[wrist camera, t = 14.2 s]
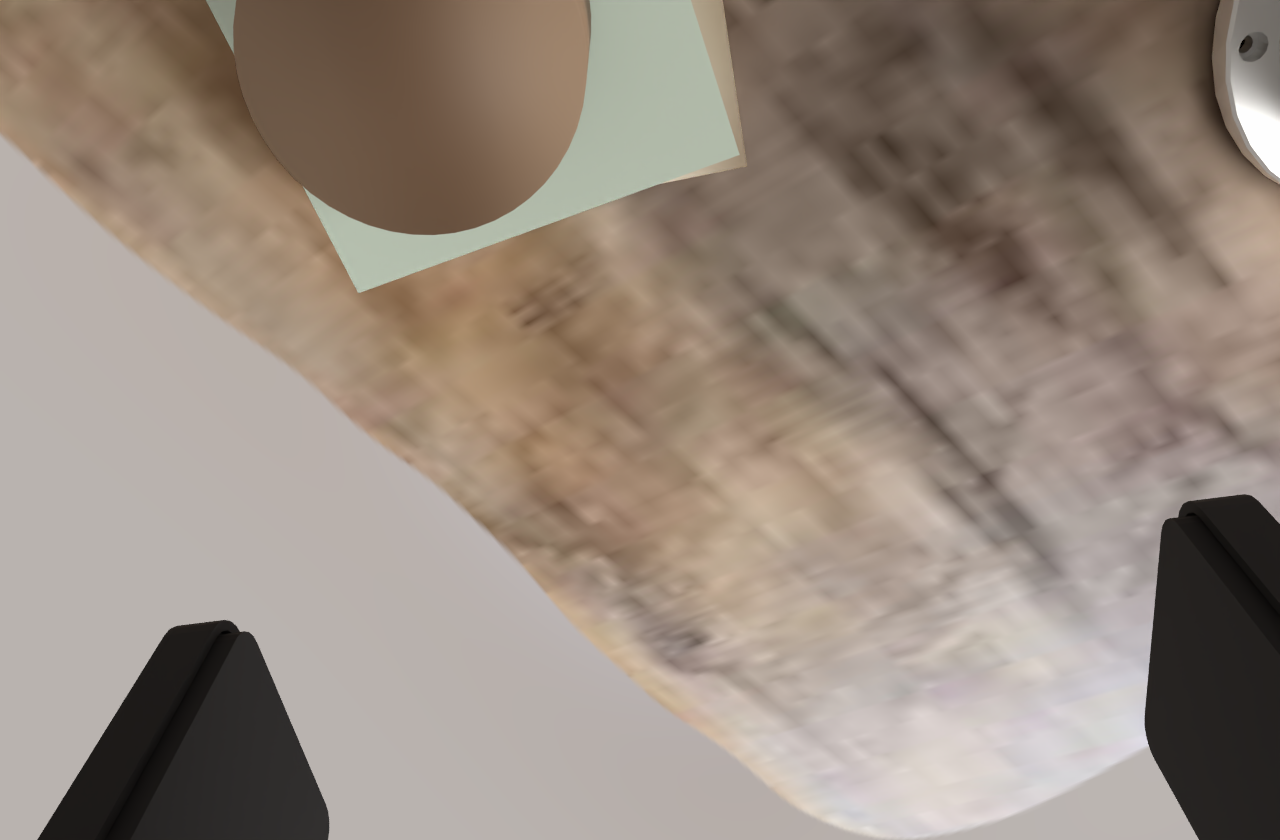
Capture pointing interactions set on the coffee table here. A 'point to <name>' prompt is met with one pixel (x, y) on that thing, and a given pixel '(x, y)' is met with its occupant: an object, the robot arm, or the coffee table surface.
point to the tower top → (578, 137)
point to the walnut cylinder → (415, 101)
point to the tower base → (719, 78)
